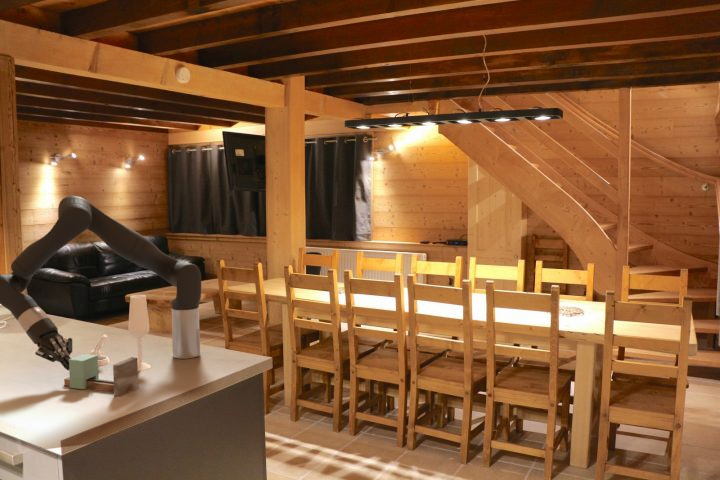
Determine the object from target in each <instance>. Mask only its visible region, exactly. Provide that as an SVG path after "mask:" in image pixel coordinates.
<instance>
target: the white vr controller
mask: <svg viewBox="0 0 720 480" xmlns="http://www.w3.org/2000/svg"><path fill="white" fill-rule="evenodd" d="M107 339H108V336H107V334H103V335H102V336H101V337H100V339H99V340H98V342H97V343H96V345H95V347H94V348H93V349H92V350H91V352H90V353H89V355H98V367H99V366H100V367H101V366H105V365H107V364H109V363H110V362H111V361H110V359H109V357H108V356H107V355H102V353H101V348H102V346H103V345H104V344H105V342H106V341H107Z"/></svg>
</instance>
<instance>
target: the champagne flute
mask: <svg viewBox="0 0 720 480" xmlns="http://www.w3.org/2000/svg"><path fill="white" fill-rule="evenodd" d="M129 299H130V300H129V309H128V310H129V313H128V327H127V329H128V330H127V331H128V334H130V335H131V336H132V337H133V338H134V339H136V340H137V362H138V372H139V371H145V370H149V369H150V368H151V367H152V366H151V365H150V364H148V363H146V362H144V361H143V358H142V357H143V356H142V355H143V353H142V352H143V351H142V339H143V338H145V337H146V336H147V335H148V333H149V331H150V329H151V327H150V319H149V318H150V317H149V309H148V304H147V303H148V302H147V295H145V294H136V295H135V294H133V295H130V298H129Z"/></svg>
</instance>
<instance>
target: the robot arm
mask: <svg viewBox="0 0 720 480" xmlns="http://www.w3.org/2000/svg"><path fill="white" fill-rule="evenodd" d="M57 212H58V213H57V218H58V219H57V221H56V222H55V224H53V226H52V228H51V229H50V230H49V231H48V232H47V233H46V234H45V235H44V236H42V237H41V238H39V239H37V240H36V241H34V242H32V243H31V244H29V245H28V246H26V247H25V248H24V249H23V250H22V252H20V253H19V254H18V255H17V257H15V258H14V260H13V261H12V262H11V265H10V268H11V270H12V272H11V273H8V274H7V273H6V274H4V273H3V274H0V305H1V306H2V307H4V308H5V309H7V310H8V311H9V312H10V313H11V314H12V316H13V317H14V318H15V319H16V320H17V322H18V325H20V327H21V329H22V330H23V331H24V332H25V334H26V335H27V336H28V338H29V339H30V340H31V341H32V342H33V343H32V344H35V345H36V347H38V348H37V350H36V352H35V355H36V356H38V357H40V358H41V359H42V358H43V359H45V360H47V361H49V362H52V363H55V362H58V363H60V364H61V366H62V367H63V368H64V369H65V370H66V371H69V359H72V357H71V356H70V355H71V354H72V353H73V338H72V337H68V338H64V337H63V335H61V334H60V333H59V331H58V330H59V329H58V327H57V326H56V324H55V323H54V322H53V320H52V319H51V318H50V317H49V316H48V314H47V313H46V312H45V311H44V310H43V309H42V308H41V307H40V306H39V305H38V304H37V302H36V301H35V299H33V297H31V296H30V295H29V294H26V293H24V292H25V290H26V289H27V287H28V286H29V284H30V282H31V281H32V278H33V277H34V275H35V274H36V273H37V272H38V271H39V270H40V269H41V268H42V267H43V266H44V265H45V264H46V263H47V262H48V261H49V260H50V259H51V258H52V257H53V256H54V255H55V254H56V253H58V251H60V250H61V249H62V248H64V247H65V246H66V245H68V244H69V243H70V242H71V241H72V240H74V239H76V238H77V237H79V236H80V235H81V234H82V233H84V232H85V231H86V230H88V231H89V232H91V233H93V234H95V236H97V237H99V239H100V240H101V241H102V242H103V243H104V244H105V245H106V246H107V247H108V248H109V249H110V250H112V251H113V252H114V253H115V254H116V255H118V256H120V257H122V258H124V259H125V260H127V261H129V262H131V263H133V264H135V265H137V266H139V267H141V268H143V269H147V270H148V271H151V272H153V273H154V274H157V276H159V277H161V278H162V279H164V281H166V282H167V283H169V284H170V285H171V286H173V287H175V288H176V294H175V298H173V299H172V300H171V331H172V332H171V333H172V335H171V336H172V357H173V358H175V359H181V360H182V359H183V360H185V359H192V358H196V357H201V329H200V301H201V298H202V274H201V273H202V271H201V270H200V268H199V266H198V265H196V264H193V263H191V262H185V261H180V260H178V259H176V258H174V257H172V256H169V255H168V254H166V253H164V252H163V251H162V250H160V248H159V247H157V245H155V244H154V243H153V242H152V241H151V240H150V239H148V237H145V236H144V235H142V234H141V233H139V232H136V231H135V230H133V229H131V228H130V227H128V226H126V225H125V224H123V223H121V222H119V221H118V220H116V219H114V218H112V217H110V216H109V215H107V214H106V213H104V212H103V211H102V210H100V209H99V208H98V207H96V206H95V205H93V204H92V203H91V202H90V201H89V200H87V199H85V198H84V197H81V196H76V195H70V196H66V197H64V198H62V199H61V200H60V201H59V204H58V208H57Z"/></svg>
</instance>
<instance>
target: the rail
mask: <svg viewBox="0 0 720 480" xmlns="http://www.w3.org/2000/svg"><path fill="white" fill-rule="evenodd" d="M112 369H113V370H112V372H113V380H108V379H92V378H89V379H87V380H86V384H87V388H86V389H89V390H97V391H105V392H113V396H116V397H122V396H123V395H125V394H128V393H129V392H131V391H133V390H136V389H137V388H139V371H138V357H134V356H133V357H132V356H131V357H129V358H126V359H124V360H122V361H120V362H118V363H115V364H113V365H112ZM69 379H70V376H68V377H66V378H64V386H66V387H70V380H69Z"/></svg>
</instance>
